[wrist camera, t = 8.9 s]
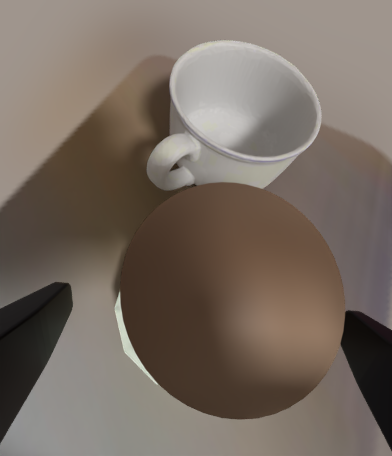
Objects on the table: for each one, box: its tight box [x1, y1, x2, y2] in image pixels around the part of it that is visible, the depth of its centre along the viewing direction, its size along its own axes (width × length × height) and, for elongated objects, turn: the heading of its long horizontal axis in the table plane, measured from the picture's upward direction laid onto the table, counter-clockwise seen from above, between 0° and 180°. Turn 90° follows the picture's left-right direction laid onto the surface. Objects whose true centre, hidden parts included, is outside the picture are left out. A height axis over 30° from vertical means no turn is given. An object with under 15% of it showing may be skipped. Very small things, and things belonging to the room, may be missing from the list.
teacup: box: [147, 40, 322, 191], centre depth 18 cm, size 14×11×8 cm
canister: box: [120, 182, 345, 419], centre depth 11 cm, size 5×5×12 cm
